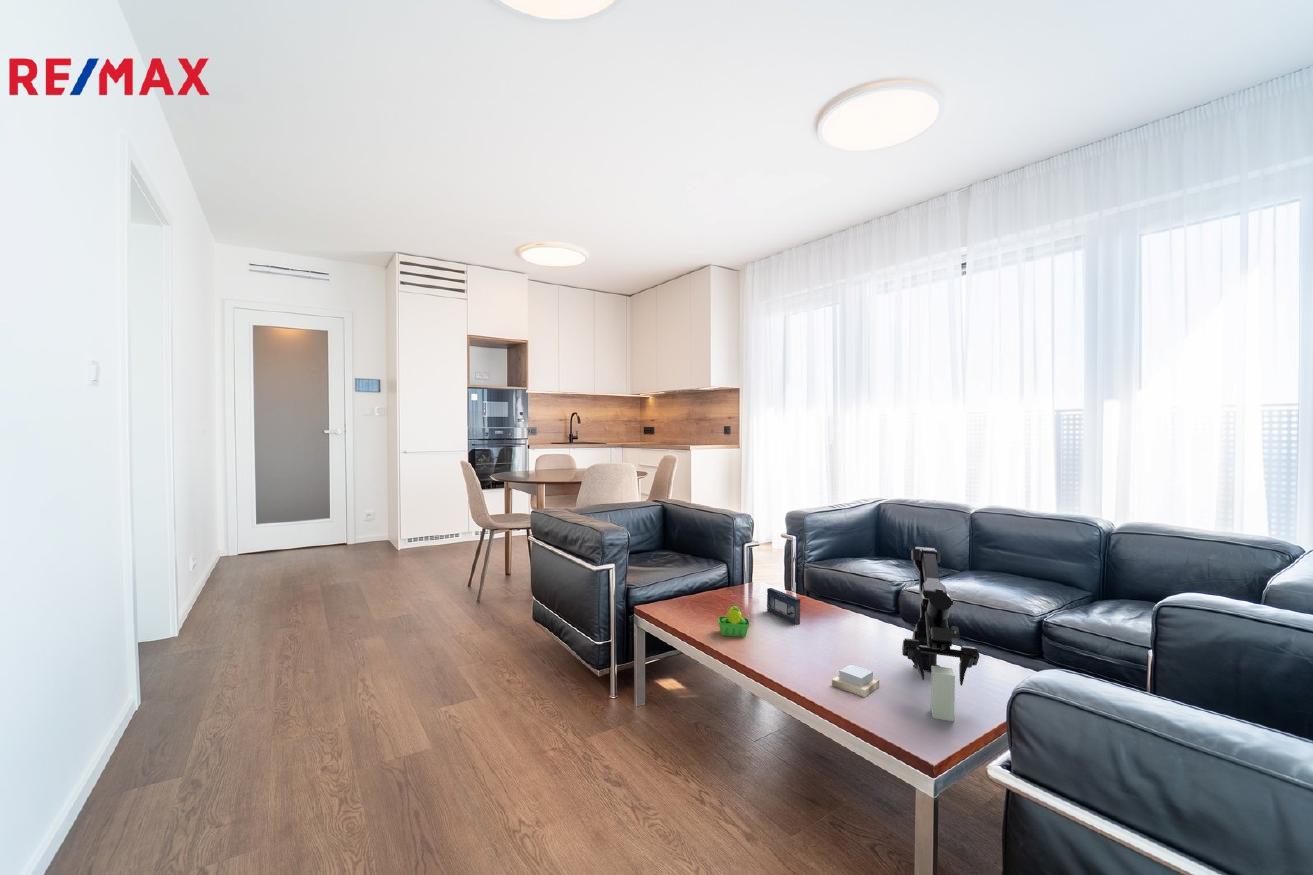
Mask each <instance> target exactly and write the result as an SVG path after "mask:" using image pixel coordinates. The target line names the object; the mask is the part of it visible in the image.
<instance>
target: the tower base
mask: <svg viewBox="0 0 1313 875" xmlns="http://www.w3.org/2000/svg"><path fill="white" fill-rule="evenodd" d="M831 686H832V687H835V688H837V689H841V690H844V691H846V692H849V693H852V694H854V695H857V696H860V697H864V698H865V697H867V696H868V695H870V694H872V692H873V691H875V690H877V688H879V687H880V679H877V678H875V677H873V680H872V681H870V682H869V683H867V684H865V685H864V686H862V687H860V686H857V685H855V684H852V683H849V682H846V681H844V680H841V679H839V674H838V675H836V676H835V677H834V678H832V679H831Z"/></svg>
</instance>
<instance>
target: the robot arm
mask: <svg viewBox="0 0 1313 875" xmlns="http://www.w3.org/2000/svg"><path fill="white" fill-rule="evenodd" d="M910 551H911V552H910V554H911V556H910V557H911V561H913V562H912V563H913V567H914V568H915V571H916V572H917V573H918V583H919V585H918V586H919V587H918V589H919V591H918V592H919V613H920V614H919V620H918V621H917V623H916V624H915V628H914V629H913V631H912V635H911V636H912V638H904V639H903V641H902V647H901V649H902V651H901V652H902V656H904V657H907V659H908V660H911V661H912V663H913V664H912V667H913V668H916V669H917V672H918V673H919V676H920V678H921V680H923V681H924V680H925V672H924V671H926V672H930V673H931V666H938V667H941V665H939V664H937V663H938V661H937V660H938V659H937V658H938V656H945V657H950V658H951V657H952V658H958V659H959V661H960V662H959V666H958V667H959V668H958V669H959V670H958V671H959V684H960V685H959V686H963V684H964V680H965V676H966V671H967V670H968V669H970V668H972V667H973V666H977V664H978V663H979V659H980V651H979V649H978V648H977V647H975V646H967V645H961V648H960V650H959V649H952V648H951V647H953V640H956V641H957V640H960V630H959V629H960V628H959V627H958V626H950V628H949V623H948V618H949V616H950V613H951V609H952V606H953V605H954V600H953V599H952V598H951V596H950V594H949V593H947V588H946V585H945V584H943V583H942V582H941V579H940V575H939V574H940V573H939V566H938V563H941V551H940V550H936V548H935V547H923V546H915V547H914V549H913V548H912V549H911V550H910Z"/></svg>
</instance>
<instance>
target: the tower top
mask: <svg viewBox="0 0 1313 875" xmlns="http://www.w3.org/2000/svg"><path fill="white" fill-rule="evenodd" d="M838 672H839V674H838V675H839V679H841V680H844V681H846V682H849V683H852V684H855V685H857V686H860V687H862V686H864V685H865V684H867V683H869V682H870V681H872V680H873V678H874V671H872V670H869V669H866V668H863V667H860V666H857V665H854V664H848V665H847V666H844V667H843V668H841V669H839V670H838Z"/></svg>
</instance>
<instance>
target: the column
mask: <svg viewBox="0 0 1313 875" xmlns="http://www.w3.org/2000/svg"><path fill="white" fill-rule="evenodd" d="M955 690H956V675H955V673H954V670H953V668H951V667H943V666H940V667H938V666H931V672H930V712H931V716H932V719H936V720H942V721H943V720H944V721H947V722H955V701H956V700H955V699H956V698H955V697H956V696H955V694H956V693H955Z"/></svg>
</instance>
